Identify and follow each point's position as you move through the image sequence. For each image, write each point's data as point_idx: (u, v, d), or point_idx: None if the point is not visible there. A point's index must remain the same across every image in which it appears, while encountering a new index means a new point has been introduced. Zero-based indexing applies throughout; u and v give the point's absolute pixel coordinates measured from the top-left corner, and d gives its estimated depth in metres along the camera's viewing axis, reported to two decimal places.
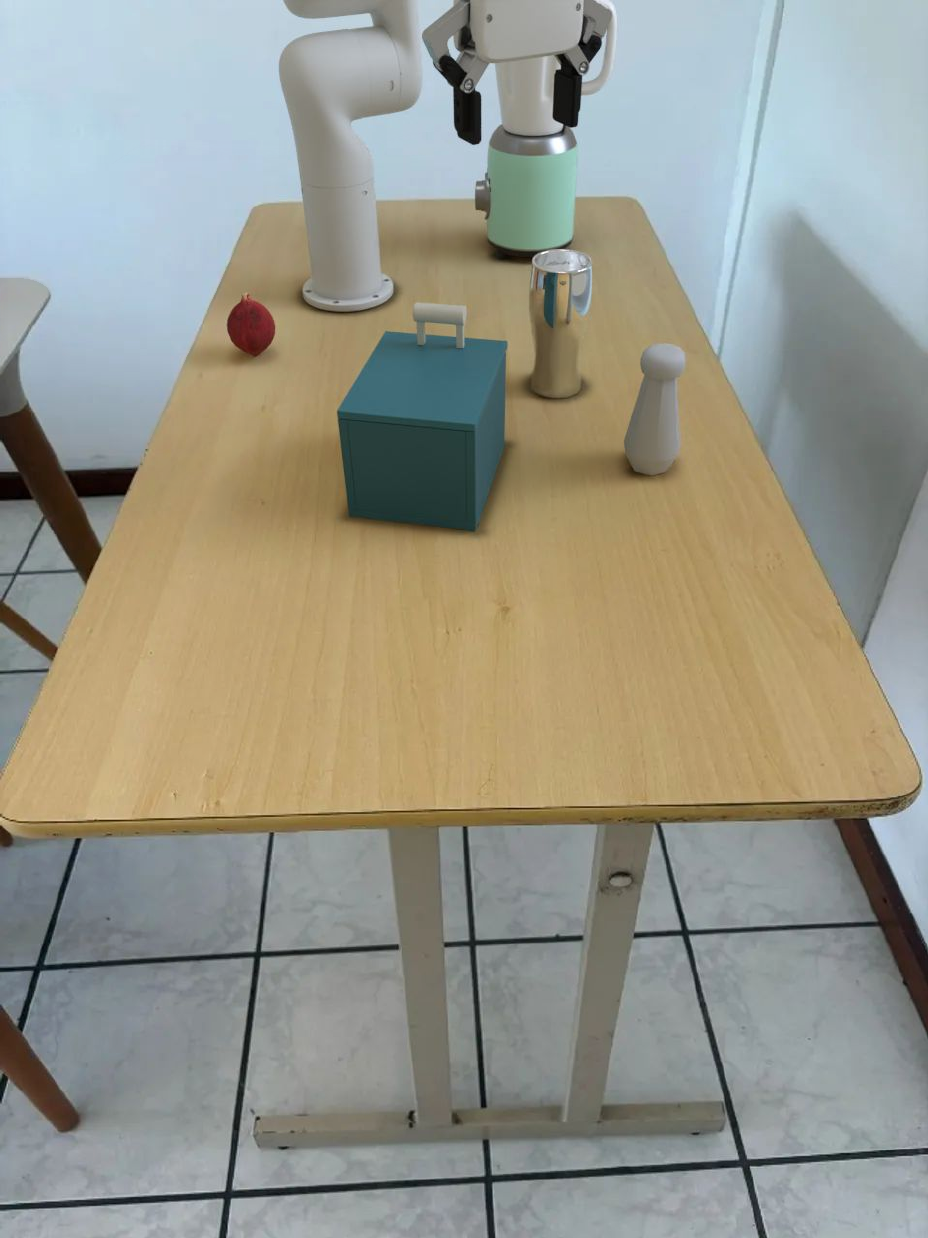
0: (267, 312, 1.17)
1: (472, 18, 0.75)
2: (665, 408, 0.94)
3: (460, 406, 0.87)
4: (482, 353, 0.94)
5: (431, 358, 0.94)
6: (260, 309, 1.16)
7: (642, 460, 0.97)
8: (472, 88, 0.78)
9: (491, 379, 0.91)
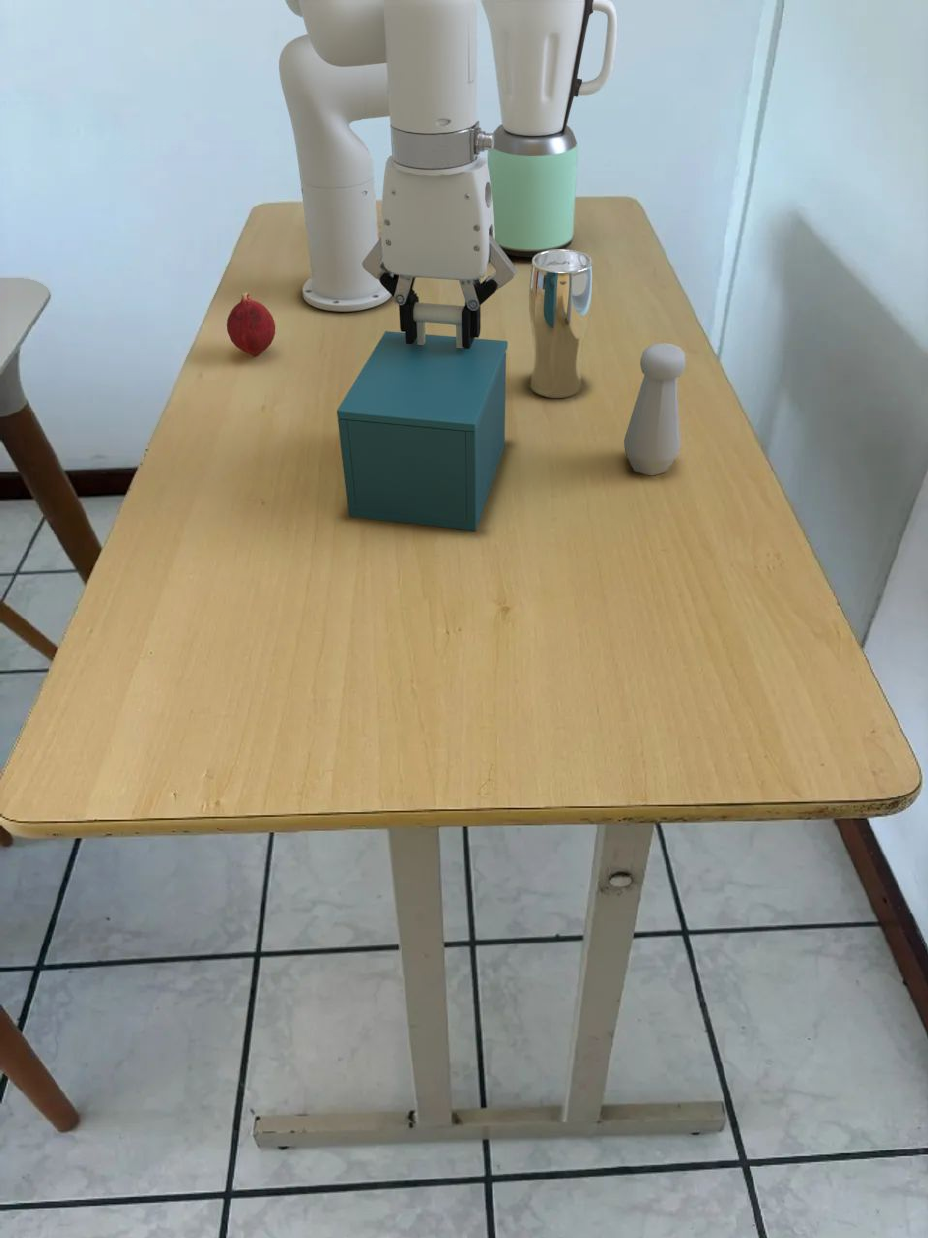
0: (267, 312, 1.17)
1: None
2: (665, 408, 0.94)
3: (460, 406, 0.87)
4: (482, 353, 0.94)
5: (431, 358, 0.94)
6: (260, 309, 1.16)
7: (642, 460, 0.97)
8: (404, 302, 0.92)
9: (491, 379, 0.91)
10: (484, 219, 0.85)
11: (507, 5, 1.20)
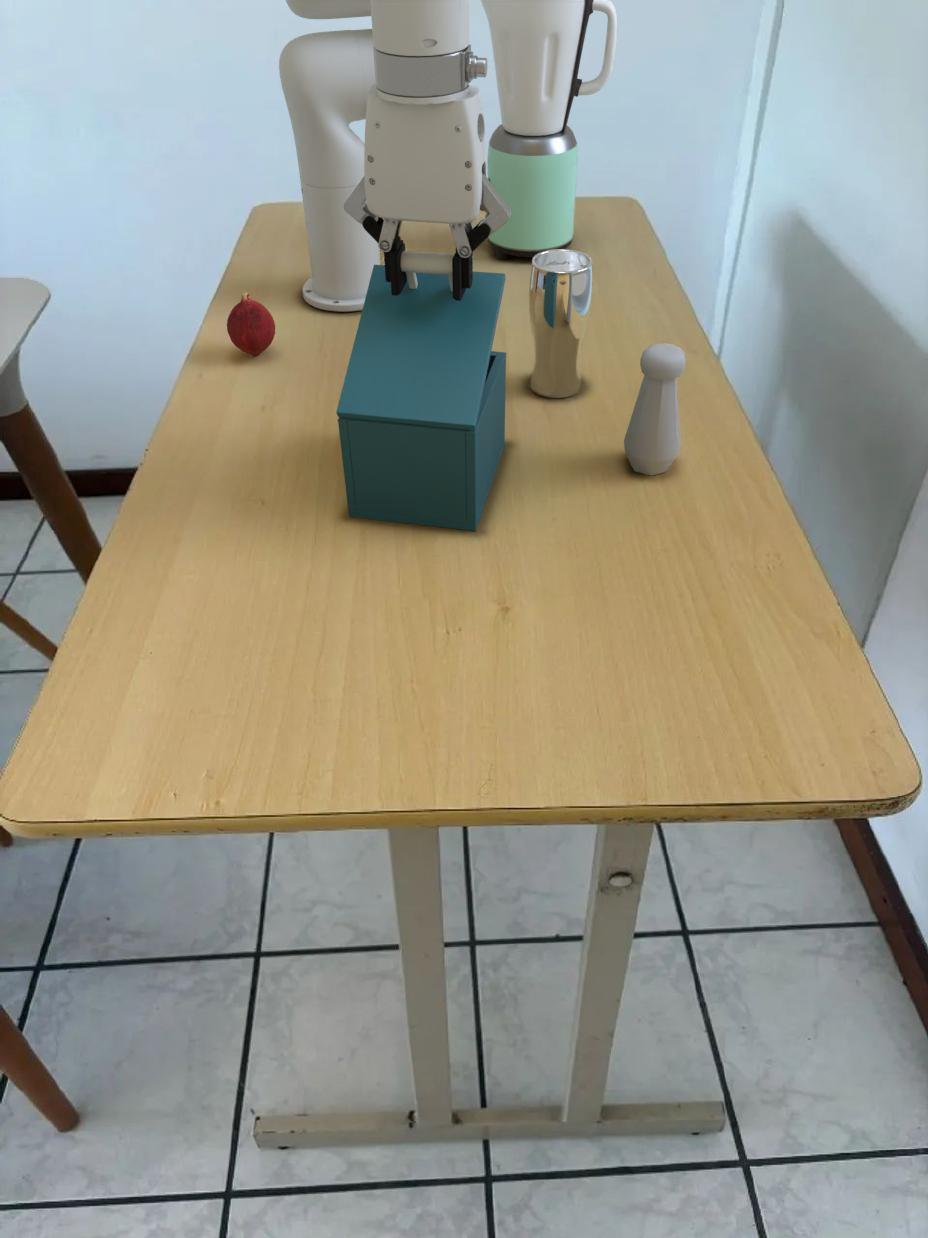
0: (267, 312, 1.17)
1: None
2: (665, 408, 0.94)
3: (459, 396, 0.86)
4: (478, 299, 0.89)
5: (425, 312, 0.89)
6: (260, 309, 1.16)
7: (642, 460, 0.97)
8: (389, 249, 0.85)
9: (489, 346, 0.87)
10: (476, 155, 0.78)
11: (507, 5, 1.20)
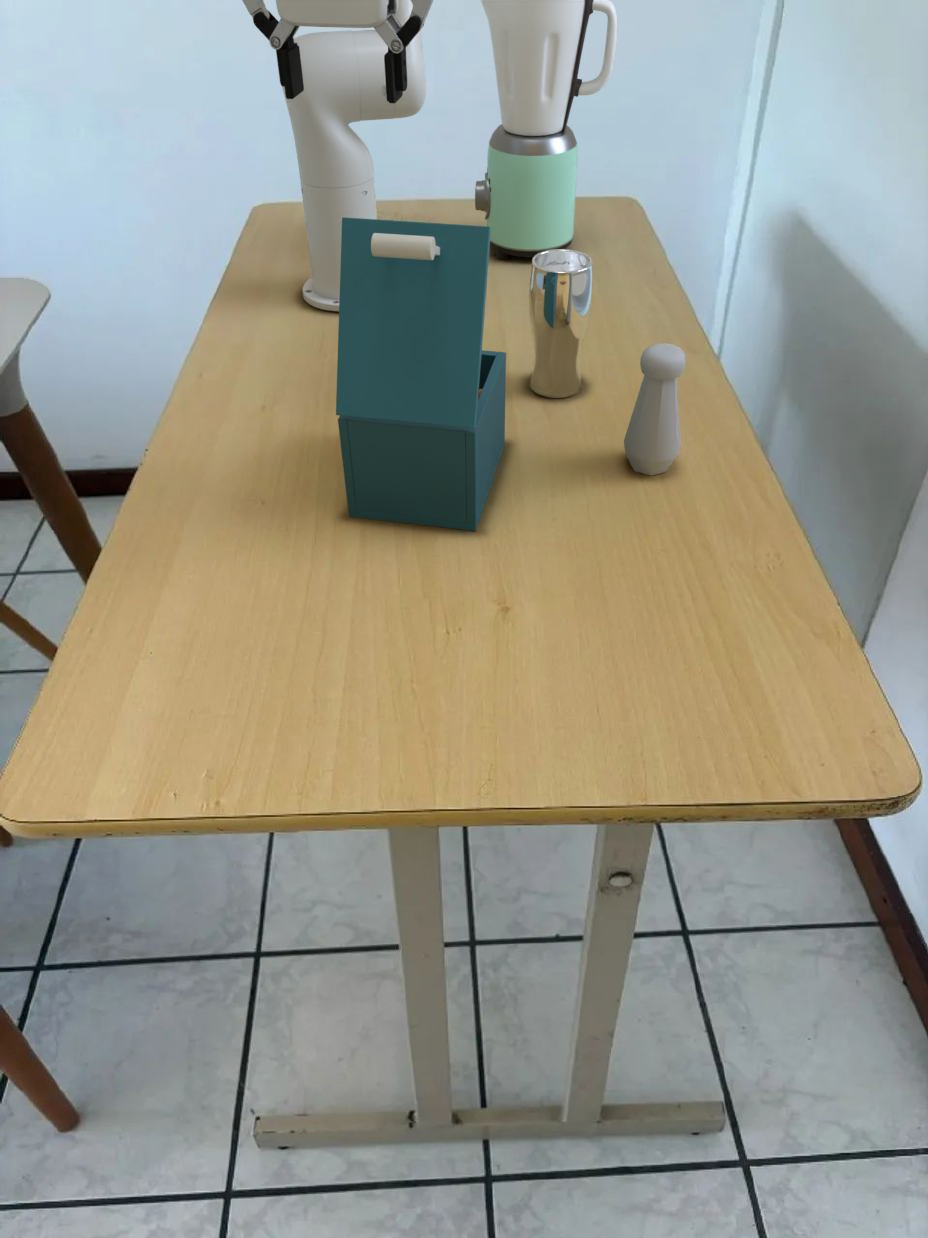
0: None
1: None
2: (665, 408, 0.94)
3: (455, 393, 0.84)
4: (463, 265, 0.81)
5: (408, 286, 0.82)
6: None
7: (642, 460, 0.97)
8: (280, 45, 0.86)
9: (480, 329, 0.82)
10: None
11: (507, 5, 1.20)
